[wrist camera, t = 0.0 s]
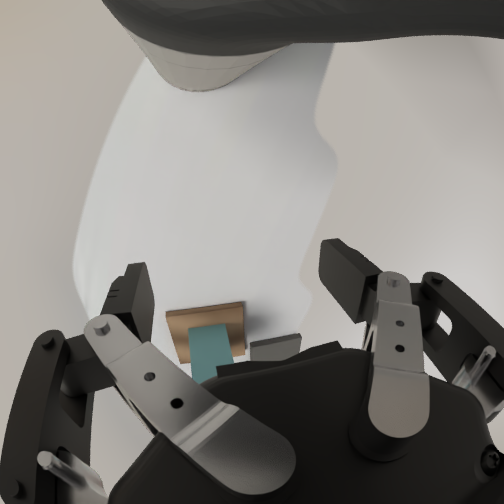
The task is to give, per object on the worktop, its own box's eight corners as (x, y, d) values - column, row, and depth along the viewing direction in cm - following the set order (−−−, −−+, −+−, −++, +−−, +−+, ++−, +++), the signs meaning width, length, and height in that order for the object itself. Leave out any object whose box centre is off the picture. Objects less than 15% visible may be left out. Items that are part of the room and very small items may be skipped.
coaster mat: (250, 342, 40) (251, 347, 39) (299, 333, 41) (301, 337, 40) (250, 372, 44) (252, 376, 43) (294, 362, 45) (296, 366, 44)
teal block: (187, 328, 34) (193, 391, 26) (225, 323, 35) (239, 384, 27) (193, 351, 37) (201, 410, 28) (227, 347, 38) (241, 405, 29)
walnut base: (165, 311, 34) (165, 339, 29) (241, 301, 35) (249, 328, 31) (180, 358, 39) (182, 385, 34) (243, 350, 40) (250, 375, 36)
